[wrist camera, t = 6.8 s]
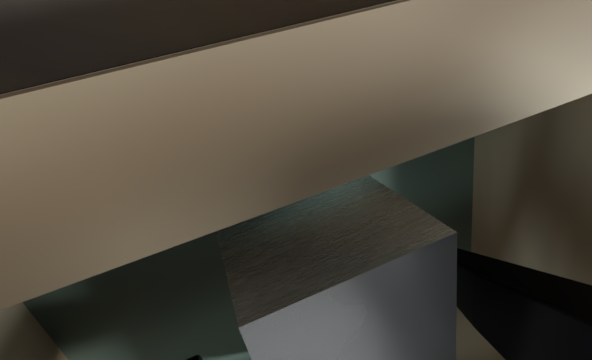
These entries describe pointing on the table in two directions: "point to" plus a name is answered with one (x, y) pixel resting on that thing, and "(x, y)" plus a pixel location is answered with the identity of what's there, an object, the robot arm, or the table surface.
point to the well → (287, 164)
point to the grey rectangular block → (344, 278)
